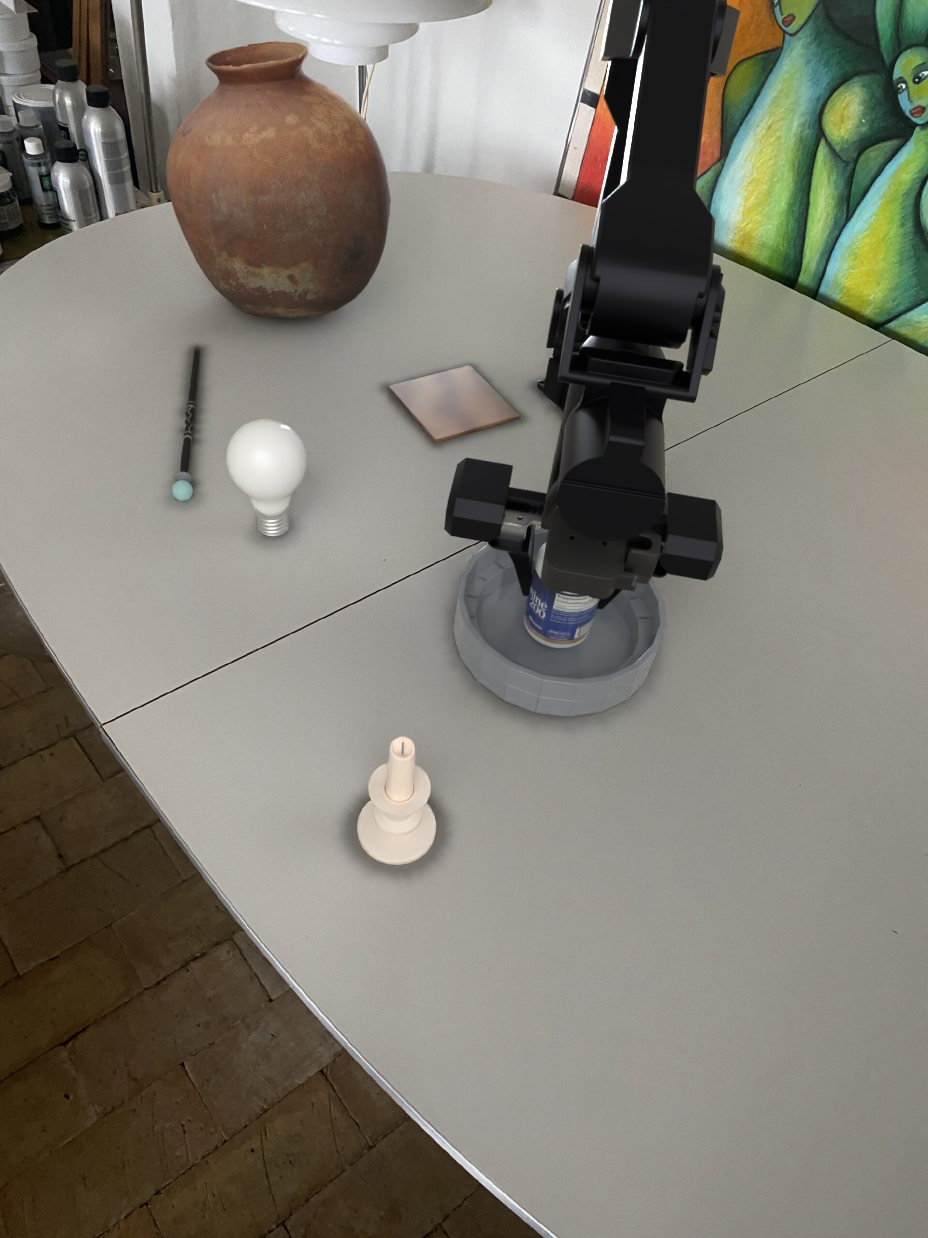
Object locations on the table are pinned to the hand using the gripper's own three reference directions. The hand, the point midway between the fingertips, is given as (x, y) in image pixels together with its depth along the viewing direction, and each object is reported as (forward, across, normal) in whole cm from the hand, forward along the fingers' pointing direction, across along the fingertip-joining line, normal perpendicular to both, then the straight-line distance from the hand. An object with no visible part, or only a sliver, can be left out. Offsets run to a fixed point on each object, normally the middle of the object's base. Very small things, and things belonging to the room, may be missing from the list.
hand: (562, 598), depth 67 cm
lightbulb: (+5, -25, +6) cm, 26 cm away
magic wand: (+5, -37, +20) cm, 42 cm away
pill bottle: (+3, 0, 0) cm, 3 cm away
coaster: (+5, -13, +30) cm, 33 cm away
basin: (+5, 0, 0) cm, 5 cm away
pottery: (+5, -35, +45) cm, 57 cm away
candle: (+5, -9, -19) cm, 22 cm away
